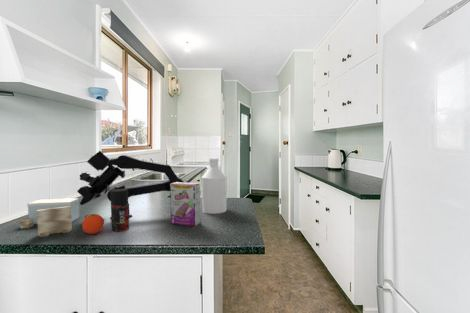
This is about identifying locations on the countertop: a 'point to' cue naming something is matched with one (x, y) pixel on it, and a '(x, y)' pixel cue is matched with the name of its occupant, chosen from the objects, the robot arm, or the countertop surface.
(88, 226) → the clementine
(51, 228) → the beige layered block
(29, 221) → the left marker cube
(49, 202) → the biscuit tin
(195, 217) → the candy bar box
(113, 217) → the deodorant
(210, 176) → the bottle
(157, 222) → the countertop surface
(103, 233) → the countertop surface
